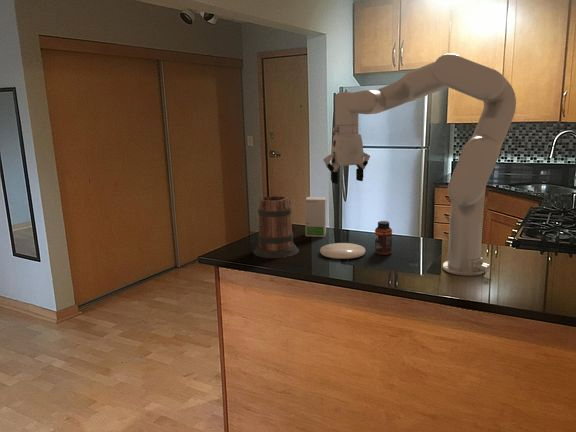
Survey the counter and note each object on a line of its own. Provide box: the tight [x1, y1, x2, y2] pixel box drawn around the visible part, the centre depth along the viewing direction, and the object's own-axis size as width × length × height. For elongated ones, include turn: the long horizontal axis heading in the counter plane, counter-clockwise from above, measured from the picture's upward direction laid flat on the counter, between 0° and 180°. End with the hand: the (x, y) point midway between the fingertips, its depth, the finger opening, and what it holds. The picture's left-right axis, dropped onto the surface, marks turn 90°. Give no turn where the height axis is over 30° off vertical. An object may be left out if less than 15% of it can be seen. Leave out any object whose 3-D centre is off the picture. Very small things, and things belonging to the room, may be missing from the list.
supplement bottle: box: [374, 220, 393, 256], centre depth 166 cm, size 6×6×11 cm
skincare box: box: [304, 196, 327, 238], centre depth 193 cm, size 8×7×16 cm
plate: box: [319, 242, 366, 260], centre depth 168 cm, size 16×16×2 cm
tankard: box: [253, 195, 300, 259], centre depth 175 cm, size 24×17×20 cm
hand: (347, 182), depth 159 cm, fingers open, 9 cm apart
